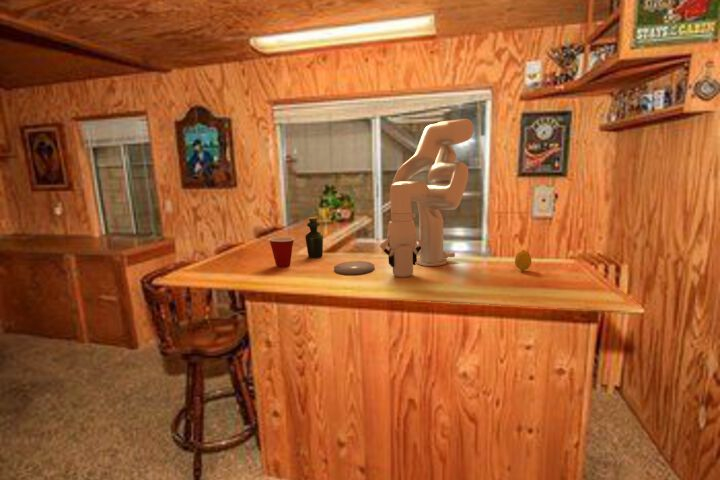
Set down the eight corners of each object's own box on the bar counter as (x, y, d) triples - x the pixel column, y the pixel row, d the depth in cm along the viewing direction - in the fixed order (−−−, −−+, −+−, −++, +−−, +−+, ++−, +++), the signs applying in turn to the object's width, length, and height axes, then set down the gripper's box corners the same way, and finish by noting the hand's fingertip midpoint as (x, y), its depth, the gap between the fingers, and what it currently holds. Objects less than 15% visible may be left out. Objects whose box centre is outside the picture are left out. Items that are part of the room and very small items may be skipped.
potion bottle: (303, 257, 179) (300, 218, 176) (317, 253, 185) (314, 216, 181) (313, 259, 174) (310, 219, 170) (327, 256, 179) (325, 217, 175)
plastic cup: (301, 264, 166) (299, 237, 163) (280, 270, 158) (278, 241, 156) (286, 261, 173) (284, 234, 171) (265, 266, 165) (263, 238, 163)
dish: (370, 262, 164) (370, 259, 164) (378, 272, 149) (378, 269, 149) (332, 265, 162) (332, 262, 162) (336, 276, 146) (336, 273, 146)
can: (412, 278, 140) (411, 245, 138) (391, 278, 141) (390, 245, 139) (413, 272, 147) (413, 241, 145) (394, 272, 149) (393, 241, 146)
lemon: (530, 269, 145) (531, 248, 143) (531, 273, 140) (532, 251, 138) (514, 268, 146) (514, 248, 145) (514, 272, 141) (515, 251, 140)
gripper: (421, 214, 145) (422, 260, 148) (375, 217, 142) (377, 264, 146) (428, 217, 138) (428, 265, 141) (380, 220, 135) (381, 269, 139)
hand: (402, 264), depth 143 cm, fingers closed on can, 7 cm apart
